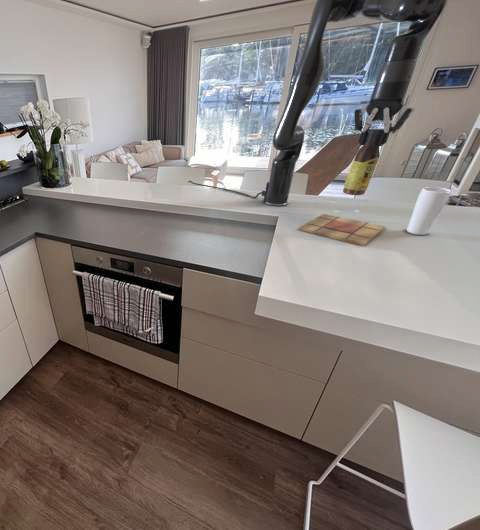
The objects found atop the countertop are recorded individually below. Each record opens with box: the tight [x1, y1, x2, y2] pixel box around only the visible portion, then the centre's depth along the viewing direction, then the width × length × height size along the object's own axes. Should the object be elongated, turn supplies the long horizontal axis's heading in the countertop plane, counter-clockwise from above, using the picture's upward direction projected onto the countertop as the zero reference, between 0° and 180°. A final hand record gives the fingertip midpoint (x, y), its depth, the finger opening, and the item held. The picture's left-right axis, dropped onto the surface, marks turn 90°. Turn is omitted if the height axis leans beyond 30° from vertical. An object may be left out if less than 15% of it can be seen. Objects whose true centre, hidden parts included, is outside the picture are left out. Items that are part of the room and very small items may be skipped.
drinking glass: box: [406, 186, 452, 236], centre depth 96 cm, size 7×7×15 cm
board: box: [299, 213, 386, 247], centre depth 105 cm, size 20×20×1 cm
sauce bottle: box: [342, 128, 384, 196], centre depth 92 cm, size 7×6×20 cm
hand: (370, 145), depth 89 cm, fingers closed on sauce bottle, 4 cm apart
